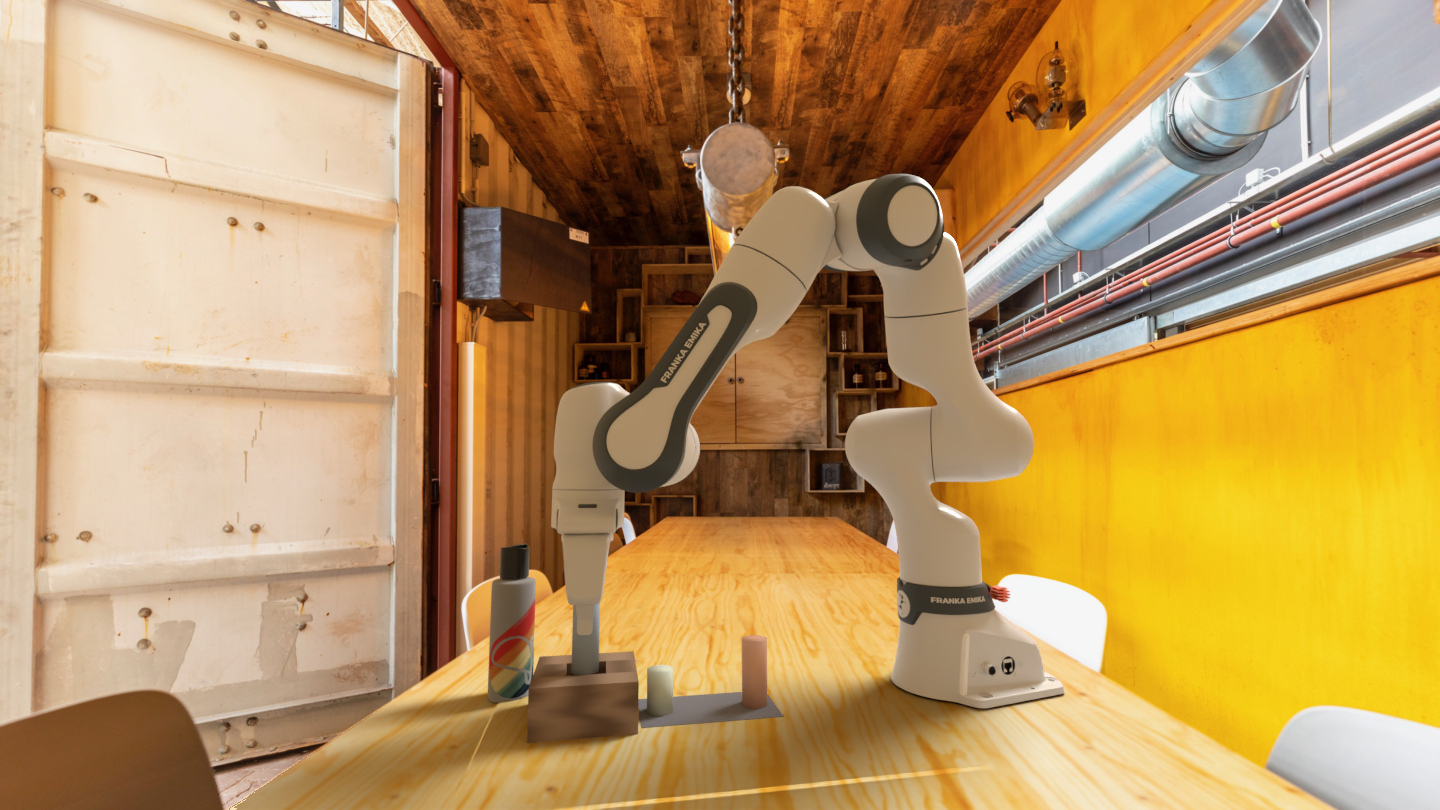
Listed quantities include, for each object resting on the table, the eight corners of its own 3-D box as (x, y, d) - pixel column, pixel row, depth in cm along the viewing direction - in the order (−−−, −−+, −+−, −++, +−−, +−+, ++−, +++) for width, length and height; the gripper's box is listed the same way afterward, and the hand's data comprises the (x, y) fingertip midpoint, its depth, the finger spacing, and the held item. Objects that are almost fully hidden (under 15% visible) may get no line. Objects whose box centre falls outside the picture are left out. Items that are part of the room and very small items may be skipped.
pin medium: (763, 698, 79) (763, 634, 80) (770, 707, 76) (769, 641, 77) (739, 700, 79) (739, 635, 80) (745, 709, 76) (744, 642, 76)
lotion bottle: (518, 705, 78) (523, 546, 80) (478, 702, 79) (484, 545, 81) (540, 690, 84) (544, 541, 86) (502, 687, 85) (507, 540, 87)
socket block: (632, 698, 80) (633, 651, 81) (637, 737, 69) (638, 681, 69) (538, 705, 78) (539, 656, 79) (526, 746, 67) (528, 688, 67)
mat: (764, 693, 82) (764, 690, 82) (784, 719, 73) (784, 716, 74) (637, 702, 79) (637, 699, 79) (641, 731, 70) (641, 727, 70)
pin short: (671, 705, 77) (671, 664, 78) (674, 715, 74) (674, 672, 75) (645, 707, 76) (646, 665, 77) (647, 717, 73) (648, 673, 74)
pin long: (598, 667, 75) (600, 550, 78) (598, 673, 72) (601, 551, 75) (571, 669, 75) (574, 551, 77) (570, 675, 71) (574, 552, 74)
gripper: (566, 508, 85) (563, 611, 84) (556, 519, 65) (552, 653, 64) (612, 508, 87) (610, 609, 85) (616, 518, 67) (613, 650, 65)
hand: (585, 628), depth 74 cm, fingers closed on pin long, 3 cm apart
